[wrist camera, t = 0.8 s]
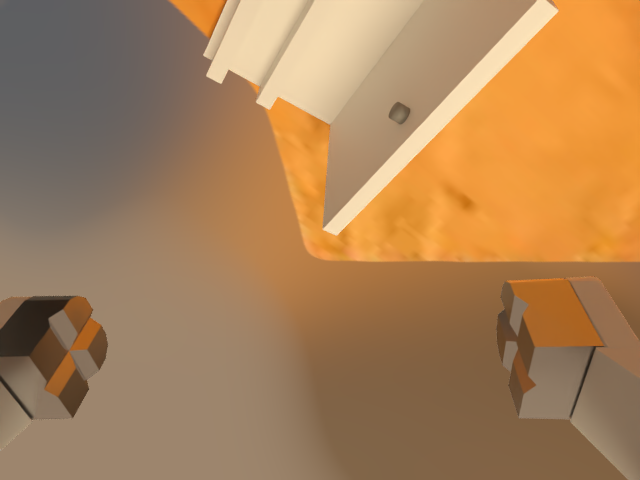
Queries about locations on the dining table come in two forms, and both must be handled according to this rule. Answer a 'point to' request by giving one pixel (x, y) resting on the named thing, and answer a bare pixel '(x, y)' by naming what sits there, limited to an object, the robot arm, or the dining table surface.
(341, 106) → the picture ledge
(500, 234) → the dining table surface
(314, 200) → the dining table surface
